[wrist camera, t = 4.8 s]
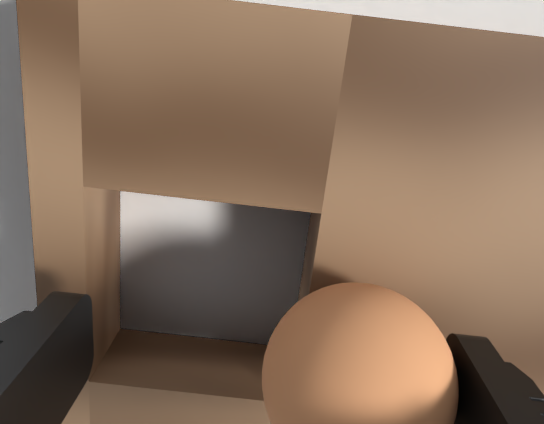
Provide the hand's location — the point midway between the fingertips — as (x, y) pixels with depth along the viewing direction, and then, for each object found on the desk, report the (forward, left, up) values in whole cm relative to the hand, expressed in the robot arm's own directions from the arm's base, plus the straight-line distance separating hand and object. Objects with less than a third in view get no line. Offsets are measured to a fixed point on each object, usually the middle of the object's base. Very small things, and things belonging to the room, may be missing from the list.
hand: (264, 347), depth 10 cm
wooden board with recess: (0, +4, -4) cm, 6 cm away
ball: (0, +2, +3) cm, 4 cm away
